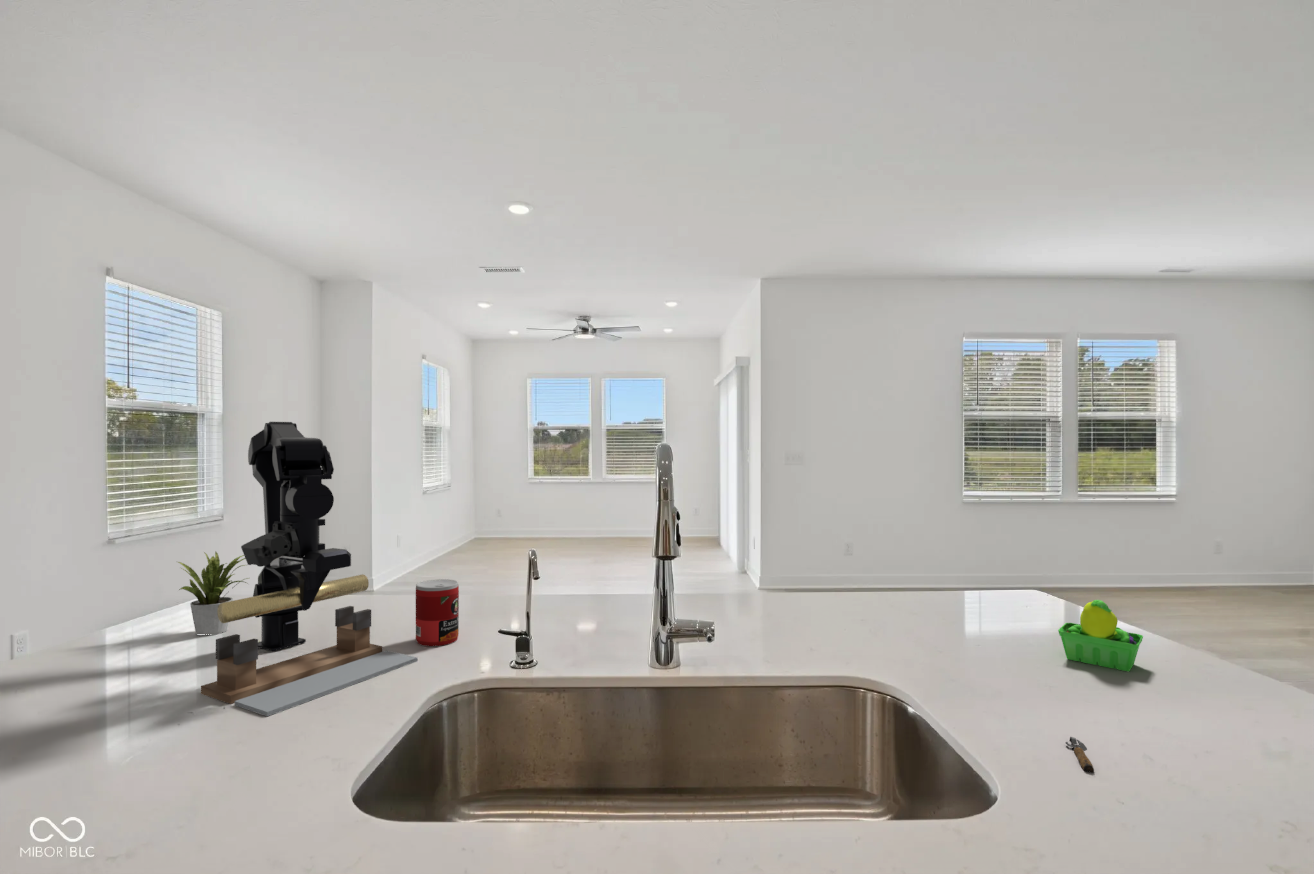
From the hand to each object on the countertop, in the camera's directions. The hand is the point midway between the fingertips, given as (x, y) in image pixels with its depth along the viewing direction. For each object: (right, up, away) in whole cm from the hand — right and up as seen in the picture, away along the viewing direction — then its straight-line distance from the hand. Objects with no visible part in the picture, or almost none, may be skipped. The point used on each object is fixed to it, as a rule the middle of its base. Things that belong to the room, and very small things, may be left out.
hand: (299, 608), depth 108 cm
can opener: (+111, -11, -29) cm, 115 cm away
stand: (0, -11, 0) cm, 11 cm away
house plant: (-29, -11, +22) cm, 38 cm away
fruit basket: (+135, -11, +4) cm, 136 cm away
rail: (0, 0, 0) cm, 0 cm away
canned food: (+17, -11, +17) cm, 26 cm away
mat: (+8, -10, -4) cm, 14 cm away
